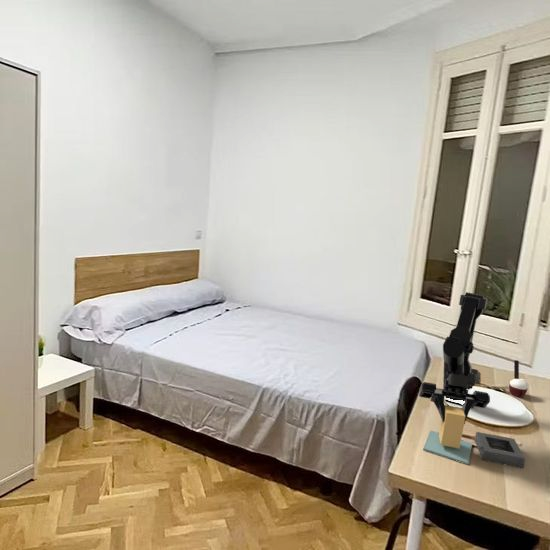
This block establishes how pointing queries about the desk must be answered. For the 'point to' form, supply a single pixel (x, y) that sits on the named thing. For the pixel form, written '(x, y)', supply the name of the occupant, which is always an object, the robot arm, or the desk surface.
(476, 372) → the phone
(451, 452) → the rubber mat
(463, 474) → the desk surface
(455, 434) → the ochre square block
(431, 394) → the robot arm
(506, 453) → the square-hole plate
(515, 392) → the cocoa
